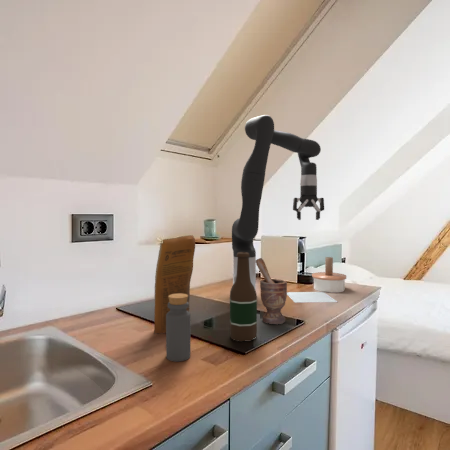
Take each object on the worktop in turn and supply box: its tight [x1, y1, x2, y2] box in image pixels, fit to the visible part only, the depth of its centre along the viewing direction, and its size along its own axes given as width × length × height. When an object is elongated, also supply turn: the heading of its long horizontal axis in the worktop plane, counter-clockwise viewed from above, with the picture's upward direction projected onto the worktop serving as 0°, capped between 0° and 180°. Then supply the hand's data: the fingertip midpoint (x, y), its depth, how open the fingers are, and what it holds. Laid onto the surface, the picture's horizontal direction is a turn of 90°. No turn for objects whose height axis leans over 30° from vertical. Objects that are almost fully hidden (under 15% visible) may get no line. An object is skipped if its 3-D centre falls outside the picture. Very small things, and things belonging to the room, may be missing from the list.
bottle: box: [165, 293, 191, 362], centre depth 82 cm, size 6×6×15 cm
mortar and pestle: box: [256, 257, 288, 325], centre depth 110 cm, size 12×9×20 cm
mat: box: [287, 291, 338, 304], centre depth 139 cm, size 17×17×1 cm
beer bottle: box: [229, 252, 258, 341], centre depth 94 cm, size 8×8×24 cm
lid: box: [311, 256, 347, 281], centre depth 153 cm, size 15×15×9 cm
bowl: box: [313, 278, 346, 293], centre depth 154 cm, size 13×13×6 cm
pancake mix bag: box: [153, 234, 196, 335], centre depth 103 cm, size 7×19×28 cm, turn 148°
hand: (308, 219), depth 158 cm, fingers open, 8 cm apart
